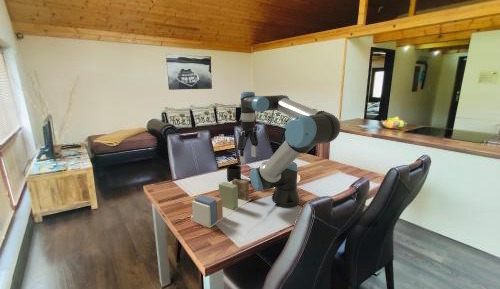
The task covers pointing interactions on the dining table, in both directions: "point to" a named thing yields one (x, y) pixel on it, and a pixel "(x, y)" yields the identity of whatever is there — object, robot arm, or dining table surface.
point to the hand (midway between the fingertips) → (248, 159)
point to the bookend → (242, 189)
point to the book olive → (228, 195)
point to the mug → (233, 172)
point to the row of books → (203, 212)
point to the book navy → (212, 204)
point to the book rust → (218, 206)
